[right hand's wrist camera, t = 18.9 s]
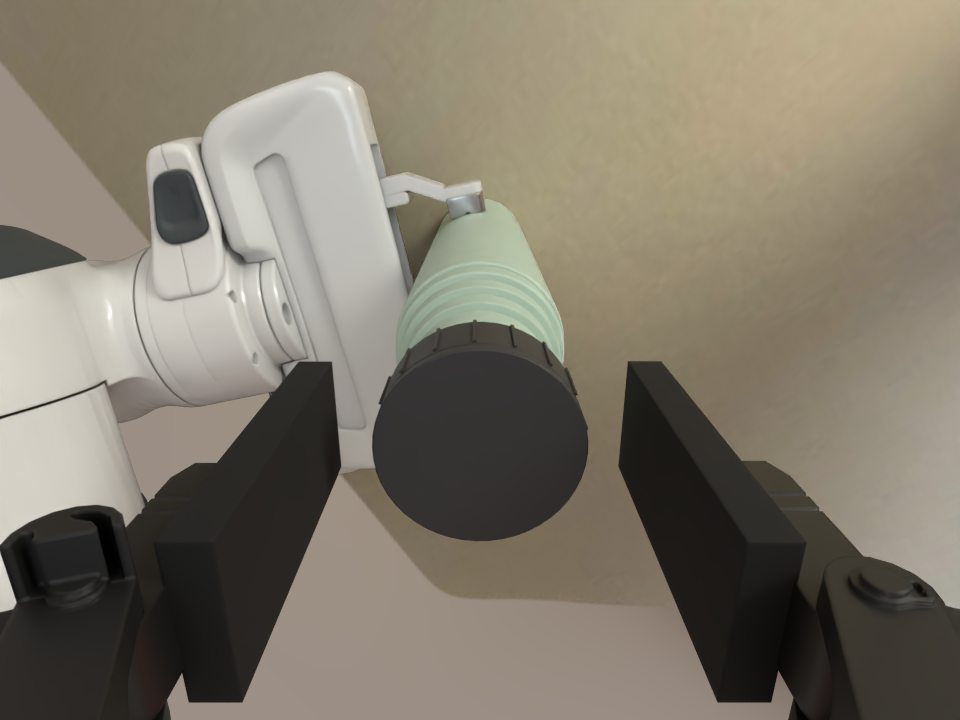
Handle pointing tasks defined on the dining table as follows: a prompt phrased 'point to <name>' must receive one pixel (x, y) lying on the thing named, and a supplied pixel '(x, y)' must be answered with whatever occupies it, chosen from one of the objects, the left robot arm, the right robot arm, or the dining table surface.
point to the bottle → (480, 282)
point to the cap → (480, 433)
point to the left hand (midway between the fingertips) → (496, 258)
